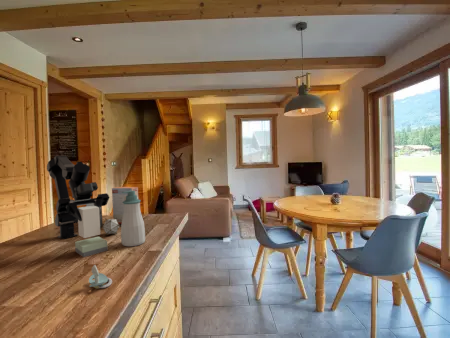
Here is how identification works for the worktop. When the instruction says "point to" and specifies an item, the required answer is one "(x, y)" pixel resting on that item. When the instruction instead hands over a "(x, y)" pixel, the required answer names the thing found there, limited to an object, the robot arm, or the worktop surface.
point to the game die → (111, 226)
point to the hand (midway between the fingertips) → (90, 218)
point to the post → (89, 221)
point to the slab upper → (90, 244)
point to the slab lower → (91, 251)
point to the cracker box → (120, 201)
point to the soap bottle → (132, 221)
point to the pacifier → (99, 279)
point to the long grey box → (99, 213)
